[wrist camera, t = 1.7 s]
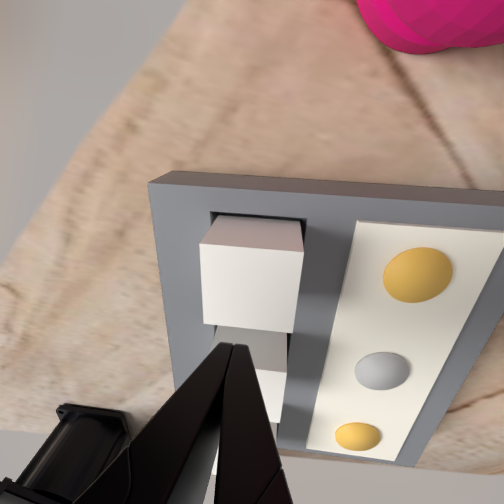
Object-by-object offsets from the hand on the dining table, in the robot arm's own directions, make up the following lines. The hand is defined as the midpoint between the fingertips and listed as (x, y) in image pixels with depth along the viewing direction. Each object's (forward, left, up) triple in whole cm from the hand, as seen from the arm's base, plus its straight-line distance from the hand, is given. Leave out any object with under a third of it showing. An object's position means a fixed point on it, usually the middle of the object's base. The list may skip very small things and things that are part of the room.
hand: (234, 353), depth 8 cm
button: (0, 0, -6) cm, 6 cm away
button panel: (+4, -6, -9) cm, 11 cm away
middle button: (0, -6, -6) cm, 9 cm away
